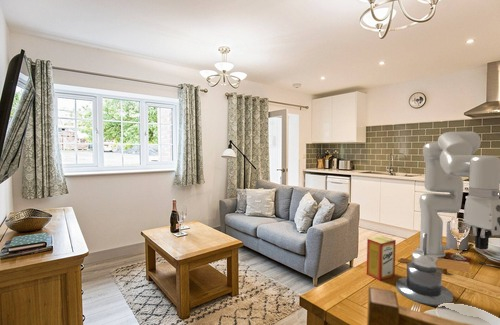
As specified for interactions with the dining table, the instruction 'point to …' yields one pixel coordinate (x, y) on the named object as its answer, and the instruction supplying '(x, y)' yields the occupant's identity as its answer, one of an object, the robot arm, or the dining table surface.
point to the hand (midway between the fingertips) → (481, 248)
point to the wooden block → (435, 261)
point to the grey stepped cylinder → (424, 287)
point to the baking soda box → (381, 257)
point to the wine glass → (453, 242)
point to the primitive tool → (411, 261)
